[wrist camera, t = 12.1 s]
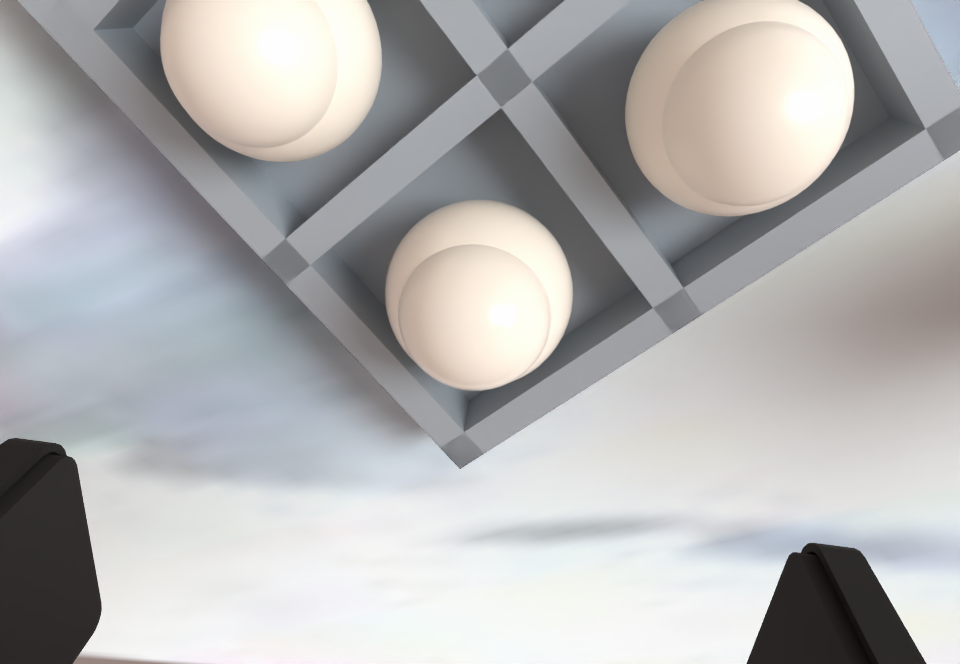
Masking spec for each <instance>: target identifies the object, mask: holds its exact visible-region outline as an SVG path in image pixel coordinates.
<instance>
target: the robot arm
mask: <svg viewBox="0 0 960 664" xmlns="http://www.w3.org/2000/svg"><path fill="white" fill-rule="evenodd" d="M101 609H102V607H101V598H100V593H99V587H98V581H97V576H96V570H95V564H94V559H93V553H92V548H91V542H90V536H89V531H88V525H87V519H86V514H85V508H84V502H83V497H82V491H81V485H80V480H79V474H78V469H77V465H76V462H75V460H74V459H73V458H72V457H69V456H67V455H66V452H65V450H64V448H63V447H62V446H61V445H59V444H56V443H49V442H42V441H34V440H26V439H19V438H13V439H8V440H7V441H5V442H3V443H2V444H0V664H73V662H74V661H75V659H76V658H77V656H78V655H79V654H80V652H81V651H82V649H83V648H84V646H85V645H86V643H87V642H88V641H89V639H90V638H91V636H92V635H93V633H94V631H95V629H96V627H97V625H98V622H99V619H100V616H101ZM747 664H926V662H925V661H924V659H923V657H922V655H921V654H920V652H919V650H918V649H917V647H916V645H915V643H914V642H913V640H912V638H911V636H910V635H909V633H908V631H907V629H906V628H905V626H904V624H903V623H902V621H901V619H900V617H899V616H898V614H897V612H896V610H895V609H894V607H893V605H892V603H891V602H890V600H889V598H888V597H887V595H886V593H885V591H884V590H883V588H882V586H881V584H880V583H879V581H878V579H877V577H876V576H875V574H874V572H873V571H872V569H871V567H870V565H869V564H868V562H867V560H866V558H865V557H864V556H863V554H862V553H861V552H860V551H859V550H857V549H855V548H848V547H840V546H833V545H825V544H817V543H808V544H807V545H806V546H805V547H804V548H803V550H802V552H801V553H797V552H794V553H792V554H790V555H789V557H788V559H787V561H786V564H785V566H784V569H783V571H782V574H781V577H780V579H779V582H778V584H777V587H776V589H775V592H774V595H773V597H772V600H771V602H770V605H769V607H768V610H767V613H766V615H765V618H764V620H763V623H762V625H761V628H760V631H759V633H758V636H757V638H756V641H755V643H754V646H753V649H752V651H751V654H750V656H749V659H748V662H747Z"/></svg>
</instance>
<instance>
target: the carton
mask: <svg viewBox="0 0 960 664" xmlns="http://www.w3.org/2000/svg"><path fill="white" fill-rule="evenodd" d="M17 1H18V2H19V3H20V4H21V5H22V6H23V7H24V8H25V9H26V10H27V11H28V12H29V14H30V15H31V16H32V17H33V18H34V19H35V20H36V21H37V22H38V23H39V24H40V25H41V26H42V27H43V28H44V29H45V30H46V32H47V33H48V34H49V35H50V36H51V37H52V38H53V39H54V40H55V41H56V42H57V43H58V44H59V45H60V46H61V47H62V48H63V49H64V51H65V52H66V53H67V54H68V55H69V56H70V57H71V58H72V59H73V60H74V61H75V62H76V63H77V64H78V65H79V66H80V67H81V69H82V70H83V71H84V72H85V73H86V74H87V75H88V76H89V77H90V78H91V79H92V80H93V81H94V82H95V83H96V84H97V85H98V87H99V88H100V89H101V90H102V91H103V92H104V93H105V94H106V95H107V96H108V97H109V98H110V99H111V100H112V101H113V102H114V103H115V104H116V106H117V107H118V108H119V109H120V110H121V111H122V112H123V113H124V114H125V115H126V116H127V117H128V118H129V119H130V120H131V121H132V122H133V124H134V125H135V126H136V127H137V128H138V129H139V130H140V131H141V132H142V133H143V134H144V135H145V136H146V137H147V138H148V139H149V140H150V142H151V143H152V144H153V145H154V146H155V147H156V148H157V149H158V150H159V151H160V152H161V153H162V154H163V155H164V156H165V157H166V158H167V159H168V161H169V162H170V163H171V164H172V165H173V166H174V167H175V168H176V169H177V170H178V171H179V172H180V173H181V174H182V175H183V176H184V177H185V179H186V180H187V181H188V182H189V183H190V184H191V185H192V186H193V187H194V188H195V189H196V190H197V191H198V192H199V193H200V194H201V195H202V197H203V198H204V199H205V200H206V201H207V202H208V203H209V204H210V205H211V206H212V207H213V208H214V209H215V210H216V211H217V212H218V213H219V214H220V216H221V217H222V218H223V219H224V220H225V221H226V222H227V223H228V224H229V225H230V226H231V227H232V228H233V229H234V230H235V231H236V232H237V234H238V235H239V236H240V237H241V238H242V239H243V240H244V241H245V242H246V243H247V244H248V245H249V246H250V247H251V248H252V249H253V250H254V252H255V253H256V254H257V255H258V256H259V257H260V258H261V259H262V260H263V261H264V262H265V263H266V264H267V265H268V266H269V267H270V268H271V269H272V271H273V272H274V273H275V274H276V275H277V276H278V277H279V278H280V279H281V280H282V281H283V282H284V283H285V284H286V285H287V286H288V287H289V289H290V290H291V291H292V292H293V293H294V294H295V295H296V296H297V297H298V298H299V299H300V300H301V301H302V302H303V303H304V304H305V305H306V307H307V308H308V309H309V310H310V311H311V312H312V313H313V314H314V315H315V316H316V317H317V318H318V319H319V320H320V321H321V322H322V323H323V324H324V326H325V327H326V328H327V329H328V330H329V331H330V332H331V333H332V334H333V335H334V336H335V337H336V338H337V339H338V340H339V341H340V342H341V344H342V345H343V346H344V347H345V348H346V349H347V350H348V351H349V352H350V353H351V354H352V355H353V356H354V357H355V358H356V359H357V360H358V362H359V363H360V364H361V365H362V366H363V367H364V368H365V369H366V370H367V371H368V372H369V373H370V374H371V375H372V376H373V377H374V378H375V379H376V381H377V382H378V383H379V384H380V385H381V386H382V387H383V388H384V389H385V390H386V391H387V392H388V393H389V394H390V395H391V396H392V397H393V399H394V400H395V401H396V402H397V403H398V404H399V405H400V406H401V407H402V408H403V409H404V410H405V411H406V412H407V413H408V414H409V415H410V417H411V418H412V419H413V420H414V421H415V422H416V423H417V424H418V425H419V426H420V427H421V428H422V429H423V430H424V431H425V432H426V433H427V434H428V436H429V437H430V438H431V439H432V440H433V441H434V442H435V443H436V444H437V445H438V446H439V447H440V448H441V449H442V450H443V451H444V452H445V454H446V455H447V456H448V457H449V458H450V459H451V460H452V461H453V462H454V463H455V464H456V465H457V466H458V467H459V468H460V469H461V468H462V467H464V466H465V465H467V464H468V463H470V462H472V461H473V460H475V459H476V458H478V457H479V456H481V455H483V454H484V453H486V452H487V451H489V450H490V449H492V448H494V447H495V446H497V445H498V444H500V443H501V442H503V441H505V440H506V439H508V438H509V437H511V436H512V435H514V434H516V433H517V432H519V431H520V430H522V429H523V428H525V427H526V426H528V425H530V424H531V423H533V422H534V421H536V420H537V419H539V418H541V417H542V416H544V415H545V414H547V413H548V412H550V411H552V410H553V409H555V408H556V407H558V406H559V405H561V404H563V403H564V402H566V401H567V400H569V399H570V398H572V397H574V396H575V395H577V394H578V393H580V392H581V391H583V390H585V389H586V388H588V387H589V386H591V385H592V384H594V383H596V382H597V381H599V380H600V379H602V378H603V377H605V376H606V375H608V374H610V373H611V372H613V371H614V370H616V369H617V368H619V367H621V366H622V365H624V364H625V363H627V362H628V361H630V360H632V359H633V358H635V357H636V356H638V355H639V354H641V353H643V352H644V351H646V350H647V349H649V348H650V347H652V346H654V345H655V344H657V343H658V342H660V341H661V340H663V339H665V338H666V337H668V336H669V335H671V334H672V333H674V332H675V331H677V330H679V329H680V328H682V327H683V326H685V325H686V324H688V323H690V322H691V321H693V320H694V319H696V318H697V317H699V316H701V315H702V314H704V313H705V312H707V311H708V310H710V309H712V308H713V307H715V306H716V305H718V304H719V303H721V302H723V301H724V300H726V299H727V298H729V297H730V296H732V295H734V294H735V293H737V292H738V291H740V290H741V289H743V288H745V287H746V286H748V285H749V284H751V283H752V282H754V281H755V280H757V279H759V278H760V277H762V276H763V275H765V274H766V273H768V272H770V271H771V270H773V269H774V268H776V267H777V266H779V265H781V264H782V263H784V262H785V261H787V260H788V259H790V258H792V257H793V256H795V255H796V254H798V253H799V252H801V251H803V250H804V249H806V248H807V247H809V246H810V245H812V244H814V243H815V242H817V241H818V240H820V239H821V238H823V237H824V236H826V235H828V234H829V233H831V232H832V231H834V230H835V229H837V228H839V227H840V226H842V225H843V224H845V223H846V222H848V221H850V220H851V219H853V218H854V217H856V216H857V215H859V214H861V213H862V212H864V211H865V210H867V209H868V208H870V207H872V206H873V205H875V204H876V203H878V202H879V201H881V200H883V199H884V198H886V197H887V196H889V195H890V194H892V193H894V192H895V191H897V190H898V189H900V188H901V187H903V186H904V185H906V184H908V183H909V182H911V181H912V180H914V179H915V178H917V177H919V176H920V175H922V174H923V173H925V172H926V171H928V170H930V169H931V168H933V167H934V166H936V165H937V164H939V163H941V162H942V161H944V160H945V159H947V158H948V157H950V156H952V155H953V154H955V153H956V152H958V151H959V150H960V92H959V90H958V88H957V86H956V84H955V83H954V81H953V79H952V77H951V75H950V73H949V71H948V69H947V68H946V66H945V64H944V62H943V60H942V58H941V56H940V54H939V52H938V51H937V49H936V47H935V45H934V43H933V41H932V39H931V37H930V36H929V34H928V32H927V30H926V28H925V26H924V24H923V22H922V20H921V19H920V17H919V15H918V13H917V11H916V9H915V7H914V5H913V4H912V2H911V0H17ZM477 199H481V200H493V201H498V202H503V203H506V204H509V205H512V206H515V207H517V208H519V209H521V210H523V211H525V212H527V213H528V214H530V215H531V216H533V217H534V218H536V219H537V220H538V221H539V222H540V223H541V224H543V225H544V226H545V227H546V228H547V229H548V230H549V232H550V233H551V234H552V235H553V236H554V237H555V239H556V240H557V242H558V243H559V245H560V246H561V248H562V251H563V253H564V255H565V257H566V260H567V263H568V266H569V269H570V272H571V277H572V283H573V302H572V311H571V315H570V319H569V323H568V325H567V327H566V330H565V332H564V335H563V337H562V339H561V340H560V342H559V344H558V346H557V347H556V348H555V350H554V351H553V352H552V353H551V355H550V356H549V357H548V358H547V359H546V360H545V361H544V362H543V363H542V364H541V365H540V366H539V367H537V368H536V369H535V370H533V371H532V372H530V373H529V374H527V375H525V376H524V377H522V378H520V379H517V380H515V381H512V382H510V383H508V384H505V385H503V386H500V387H497V388H493V389H489V390H482V391H469V390H461V389H456V388H453V387H450V386H447V385H445V384H443V383H440V382H439V381H437V380H435V379H433V378H432V377H431V376H429V375H428V374H427V373H425V372H424V371H423V370H422V369H421V368H420V367H419V366H418V365H417V364H416V363H415V362H414V361H413V360H412V359H411V358H410V357H409V356H408V355H407V353H406V352H405V351H404V350H403V348H402V347H401V345H400V344H399V342H398V340H397V339H396V337H395V334H394V332H393V330H392V328H391V325H390V322H389V318H388V315H387V310H386V303H385V285H386V277H387V273H388V269H389V265H390V262H391V260H392V257H393V255H394V253H395V250H396V249H397V247H398V245H399V244H400V242H401V240H402V239H403V238H404V237H405V235H406V234H407V233H408V232H409V231H410V229H411V228H412V227H413V226H414V225H415V224H417V223H418V222H419V221H420V220H421V219H422V218H424V217H425V216H427V215H428V214H430V213H431V212H433V211H435V210H437V209H439V208H441V207H444V206H447V205H450V204H452V203H456V202H460V201H465V200H477Z"/></svg>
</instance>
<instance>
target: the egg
mask: <svg viewBox="0 0 960 664" xmlns="http://www.w3.org/2000/svg"><path fill="white" fill-rule="evenodd" d="M572 302H573V283H572V277H571V272H570V269H569V266H568V263H567V260H566V257H565V255H564V253H563V251H562V248H561V246H560V245H559V243H558V242H557V240H556V239H555V237H554V236H553V235H552V234H551V233H550V232H549V230H548V229H547V228H546V227H545V226H544V225H543V224H541V223H540V222H539V221H538V220H537V219H536V218H534V217H533V216H531V215H530V214H528V213H527V212H525V211H523V210H521V209H519V208H517V207H515V206H512V205H509V204H506V203H503V202H498V201H493V200H481V199H477V200H465V201H460V202H456V203H452V204H450V205H447V206H444V207H441V208H439V209H437V210H435V211H433V212H431V213H430V214H428V215H427V216H425V217H424V218H422V219H421V220H420V221H419V222H418V223H417V224H415V225H414V226H413V227H412V228H411V229H410V231H409V232H408V233H407V234H406V235H405V237H404V238H403V239H402V240H401V242H400V244H399V245H398V247H397V249H396V250H395V253H394V255H393V257H392V260H391V262H390V265H389V269H388V273H387V277H386V285H385V303H386V310H387V315H388V318H389V322H390V325H391V328H392V330H393V332H394V334H395V337H396V339H397V340H398V342H399V344H400V345H401V347H402V348H403V350H404V351H405V352H406V353H407V355H408V356H409V357H410V358H411V359H412V360H413V361H414V362H415V363H416V364H417V365H418V366H419V367H420V368H421V369H422V370H423V371H424V372H425V373H427V374H428V375H429V376H431V377H432V378H433V379H435V380H437V381H439V382H440V383H443V384H445V385H447V386H450V387H453V388H456V389H461V390H469V391H482V390H489V389H493V388H497V387H500V386H503V385H505V384H508V383H510V382H512V381H515V380H517V379H520V378H522V377H524V376H525V375H527V374H529V373H530V372H532V371H533V370H535V369H536V368H537V367H539V366H540V365H541V364H542V363H543V362H544V361H545V360H546V359H547V358H548V357H549V356H550V355H551V353H552V352H553V351H554V350H555V348H556V347H557V346H558V344H559V342H560V340H561V339H562V337H563V335H564V332H565V330H566V327H567V325H568V323H569V319H570V315H571V311H572Z"/></svg>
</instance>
